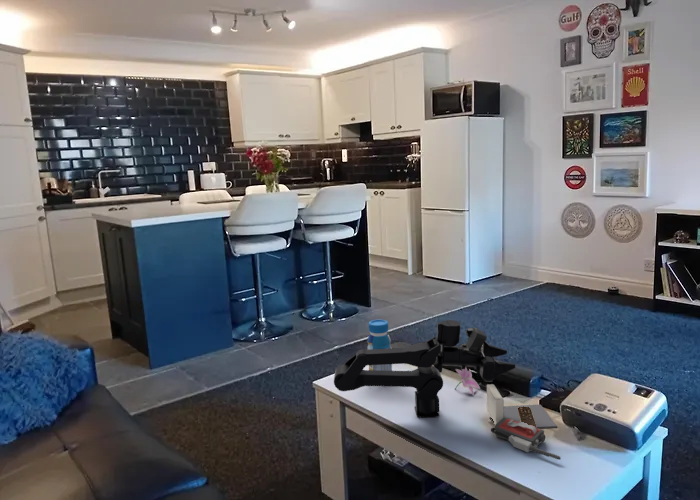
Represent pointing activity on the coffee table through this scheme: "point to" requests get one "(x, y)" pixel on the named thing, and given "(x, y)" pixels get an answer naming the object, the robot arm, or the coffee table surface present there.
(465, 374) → the lily
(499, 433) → the walkie-talkie
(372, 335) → the beverage bottle
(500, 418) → the tile
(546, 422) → the mat
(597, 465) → the coffee table surface
